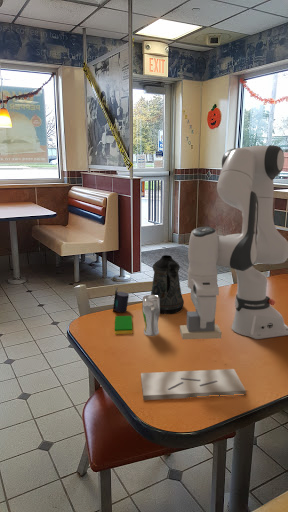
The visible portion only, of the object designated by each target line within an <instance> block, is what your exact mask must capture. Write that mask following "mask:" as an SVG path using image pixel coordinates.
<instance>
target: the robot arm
mask: <svg viewBox="0 0 288 512" xmlns="http://www.w3.org/2000/svg"><path fill="white" fill-rule="evenodd" d="M284 166H285V154H284V150H283V149H282V148H281V147H280V146H278V145H274V144H269V145H251V146H245V147H243V146H242V147H237V148H236V147H235V148H231V149H229V150H226V152H225V153H224V154H223V155H222V159H221V169H220V174H219V176H218V180H217V184H216V191H217V194H218V196H219V198H220V199H221V201H223V202H224V203H225V204H227V205H229V206H230V207H232V208H234V209H237V210H239V211H240V212H241V217H242V224H241V225H242V226H241V227H242V228H241V233H233V234H226V235H222V234H218V231H217V229H216V228H213V227H211V226H210V227H209V226H200V227H196V228H194V229H193V230H191V233H190V236H189V242H188V249H187V250H188V251H187V252H188V253H187V254H188V255H187V258H188V264H189V265H188V268H187V288H188V289H190V300H191V302H192V304H193V306H194V308H195V311H197V312H198V315H199V317H200V324H199V325H200V328H206V323H207V322H213V321H214V318H215V317H216V312H217V311H216V310H217V300H218V299H217V298H218V297H217V296H219V294H220V289H219V285H218V268H217V267H223V268H230V269H233V270H234V271H235V274H236V281H237V293H236V294H235V302H234V304H235V313H234V317H233V321H232V324H231V330H232V331H233V332H235V333H236V334H239V335H242V336H246V337H250V338H252V339H255V340H261V339H268V338H269V339H270V338H275V337H276V338H277V337H284V336H288V325H287V324H285V319H284V317H283V315H282V314H281V313H280V312H279V310H277V309H276V308H274V307H273V306H274V305H275V304H276V302H275V300H274V299H272V298H271V297H269V296H268V295H267V287H268V279H267V276H265V274H263V273H262V272H261V271H259V270H257V269H256V268H255V267H254V265H255V264H263V265H264V264H265V265H276V264H277V265H278V264H283V263H285V262H286V261H287V260H288V240H287V239H286V238H285V237H284V236H283V235H282V234H281V233H280V232H279V231H278V228H277V227H276V224H275V222H274V214H273V212H274V210H273V209H274V196H275V193H274V192H275V191H274V189H275V188H274V186H275V185H274V180H275V178H276V177H277V176H279V174H281V172H282V171H283V169H284ZM215 319H216V318H215Z"/></svg>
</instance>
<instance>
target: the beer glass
mask: <svg viewBox="0 0 288 512" xmlns="http://www.w3.org/2000/svg"><path fill="white" fill-rule="evenodd" d="M141 309H142V316H143V322H144V328H143V329H144V330H143V334H144V335H145V336H147V337H155V336H158V335H159V334H160V330H159V320H160V315H161V314H160V299H159V296H157V295H151V294H146V295H144V296H142V307H141Z"/></svg>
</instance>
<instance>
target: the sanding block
mask: <svg viewBox="0 0 288 512" xmlns="http://www.w3.org/2000/svg"><path fill="white" fill-rule="evenodd" d="M215 320H216V318H214V321H213V322H207V323H206V328H200V325H199V324H200V317H199V315H198V312H197V311H196V310H195V311H186V324H184V325H183V324H182V325H179V333H180V336H181V339H182V340H202V339H203V340H206V339H222V331H221V328H220V327H219V325H218V324H216V322H215Z"/></svg>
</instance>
